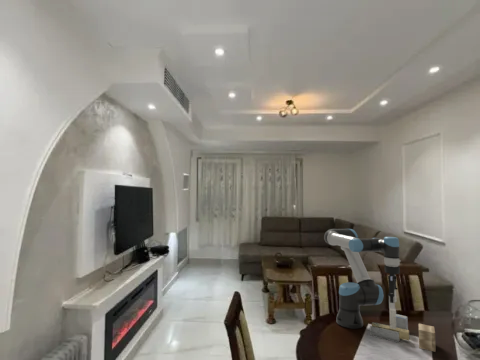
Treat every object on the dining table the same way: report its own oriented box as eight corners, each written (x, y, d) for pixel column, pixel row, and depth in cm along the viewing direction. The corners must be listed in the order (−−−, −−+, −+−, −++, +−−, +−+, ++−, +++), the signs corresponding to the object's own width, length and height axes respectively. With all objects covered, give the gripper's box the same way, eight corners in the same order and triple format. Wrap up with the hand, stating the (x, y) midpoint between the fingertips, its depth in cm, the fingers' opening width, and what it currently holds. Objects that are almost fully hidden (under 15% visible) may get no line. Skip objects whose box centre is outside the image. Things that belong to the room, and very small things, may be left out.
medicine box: (408, 332, 167) (407, 316, 168) (406, 334, 164) (405, 318, 164) (393, 327, 172) (392, 312, 173) (390, 330, 169) (390, 314, 170)
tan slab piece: (371, 332, 163) (371, 306, 164) (372, 329, 166) (372, 304, 167) (408, 340, 154) (408, 313, 155) (409, 337, 157) (408, 311, 158)
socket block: (419, 347, 149) (418, 329, 150) (418, 340, 157) (418, 323, 157) (435, 351, 145) (435, 333, 146) (434, 344, 153) (434, 326, 154)
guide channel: (370, 335, 162) (370, 326, 162) (372, 330, 168) (371, 322, 168) (399, 342, 155) (398, 332, 155) (399, 337, 160) (399, 327, 161)
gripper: (398, 270, 149) (399, 313, 147) (400, 262, 170) (401, 299, 169) (382, 268, 153) (383, 310, 151) (386, 260, 174) (387, 297, 173)
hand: (392, 304), depth 160 cm, fingers open, 13 cm apart
